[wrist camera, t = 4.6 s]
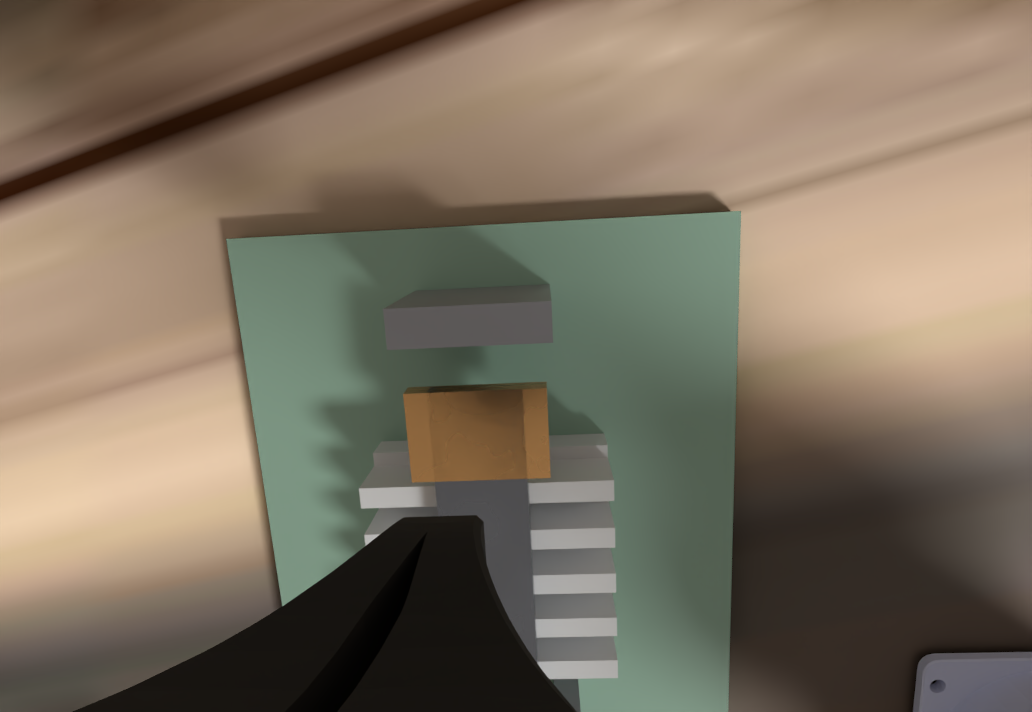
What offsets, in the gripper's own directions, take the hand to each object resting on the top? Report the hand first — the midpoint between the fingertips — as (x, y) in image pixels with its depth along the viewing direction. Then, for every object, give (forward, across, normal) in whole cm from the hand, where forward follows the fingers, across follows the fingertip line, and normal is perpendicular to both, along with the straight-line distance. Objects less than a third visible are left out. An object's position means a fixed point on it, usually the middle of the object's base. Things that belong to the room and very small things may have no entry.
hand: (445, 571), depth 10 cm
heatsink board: (+10, 0, +4) cm, 11 cm away
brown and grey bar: (+7, 0, +5) cm, 9 cm away
